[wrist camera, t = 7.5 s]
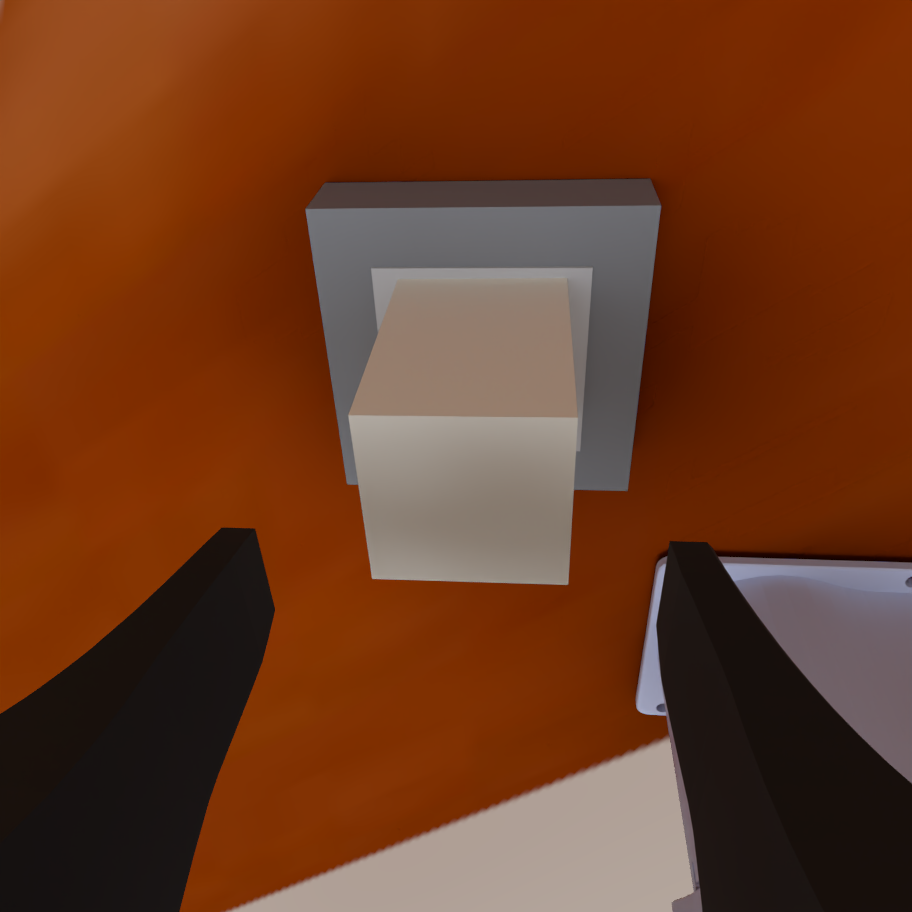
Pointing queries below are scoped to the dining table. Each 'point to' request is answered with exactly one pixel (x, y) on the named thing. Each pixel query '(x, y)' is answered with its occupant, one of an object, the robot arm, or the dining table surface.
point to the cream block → (469, 432)
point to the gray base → (498, 256)
